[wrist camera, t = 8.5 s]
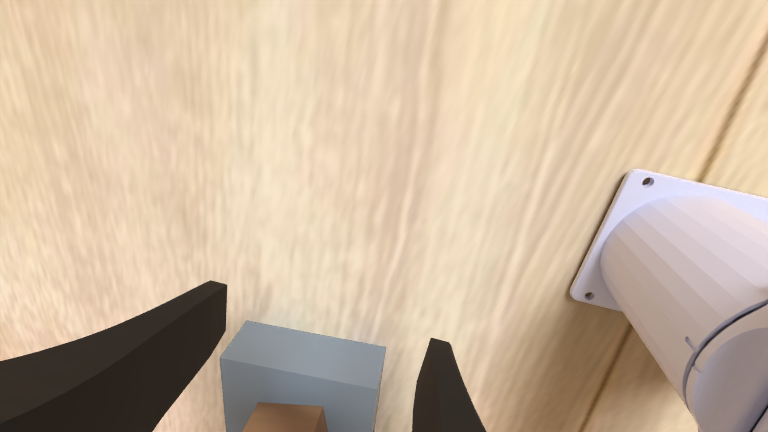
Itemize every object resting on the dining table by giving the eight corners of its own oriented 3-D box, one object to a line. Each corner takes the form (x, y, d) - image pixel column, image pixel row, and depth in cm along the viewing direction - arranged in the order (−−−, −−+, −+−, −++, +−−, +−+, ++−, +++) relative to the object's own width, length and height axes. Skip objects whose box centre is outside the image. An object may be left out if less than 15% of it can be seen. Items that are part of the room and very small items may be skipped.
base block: (386, 343, 27) (377, 389, 23) (372, 439, 31) (363, 491, 27) (249, 317, 28) (219, 357, 24) (253, 414, 32) (228, 461, 28)
